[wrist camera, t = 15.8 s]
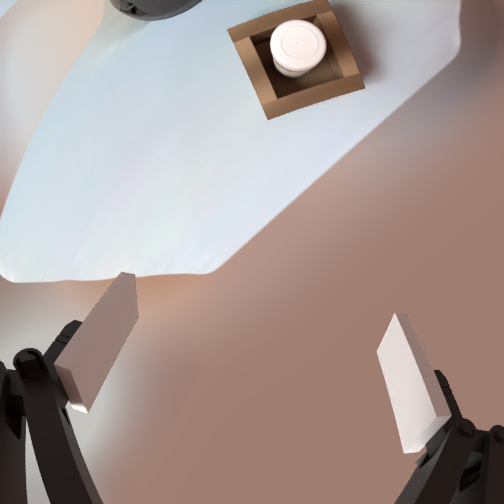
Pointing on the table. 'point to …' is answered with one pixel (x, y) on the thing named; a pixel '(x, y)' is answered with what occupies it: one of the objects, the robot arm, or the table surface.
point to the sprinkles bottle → (296, 48)
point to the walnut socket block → (317, 78)
